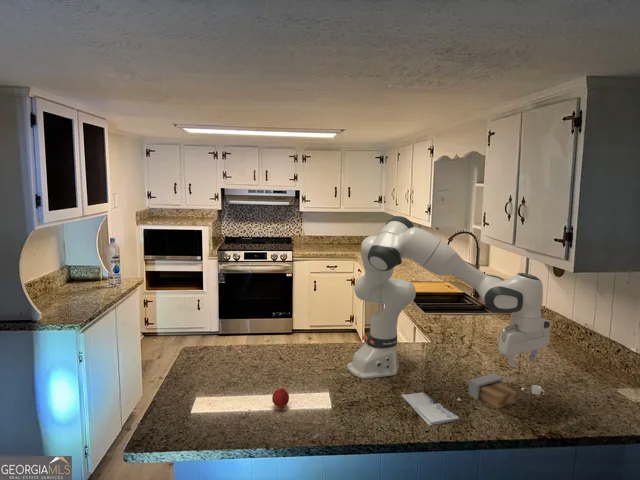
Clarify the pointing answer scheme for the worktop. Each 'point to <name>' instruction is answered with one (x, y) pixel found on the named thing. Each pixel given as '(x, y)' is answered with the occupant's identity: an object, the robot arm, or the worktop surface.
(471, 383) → the tunnel
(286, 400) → the onion
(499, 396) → the wood grain block
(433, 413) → the bicycle print towel
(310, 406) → the worktop surface
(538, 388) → the white ring-shaped piece
